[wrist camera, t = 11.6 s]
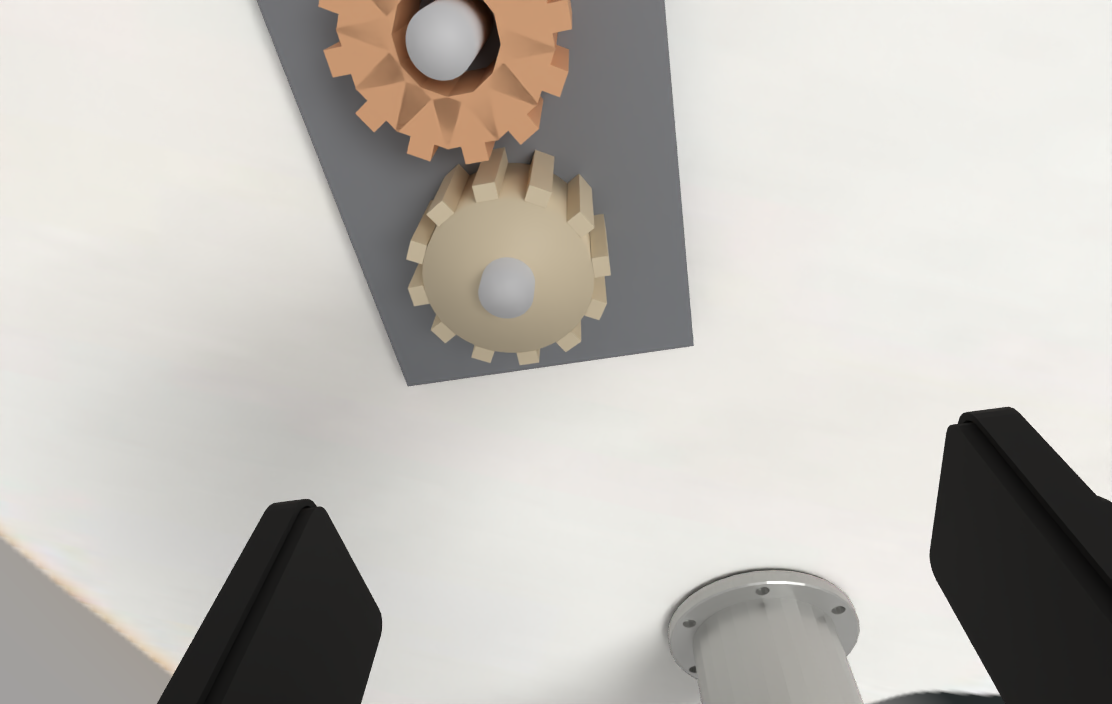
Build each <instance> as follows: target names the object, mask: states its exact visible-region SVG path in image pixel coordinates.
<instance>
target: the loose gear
mask: <svg viewBox="0 0 1112 704" xmlns="http://www.w3.org/2000/svg"><path fill="white" fill-rule="evenodd" d="M484 2H485V3H486V4H487V5H488V7H489V8H490V9H491V10H492V12H493V13H494V15H495V20H496V25H497V29H498V34H499V39H500V44H501V46H500V49H499V53H498V56H497V58H496V59H495V60H494V61H493V62H492V63H491V64H490V65H489V66H488V67H485V68H480V69H475V70H470V71H465V72H464V73H463V74H462V75H460V76H459V77H457V78H455V79H452V80H446V81H441V80H435V79H432V78H430V77H428V76H426V75H424V74H423V73H422V72H420V71H419V70H418V69H417V68H416V66H415V65H414V64H413V62H412V61H411V59H410V57H409V54H408V51H407V47H406V31H407V27H408V24H409V22H410V20H411V19H412V17H413V16H414V15H415V14H416V13H417V12H418V11H419V8H420V3H421V0H319V5H318V7H321V8H324V9H326V10H329V11H332V12H334V13H337V14H339V15H338V22H337V28H336V32H337V34H338V37H339V40H340V41H339V42H337V43H336V44H334V45H332V46H330V47H328V48H326V49H325V50H323V51H324V54H325V57H326V59H327V62H328V65H329V68H330V71H331V74H332V76H333V77H338V76H343V75H348V74H351V75H352V78H353V81H354V84H355V87H356V90H357V91H358V92H359V93H360V94H361V95H362V96H363V97H364V98H365V99H366V100H367V102H366V103H365V104H364V105H363V106H362V107H361V108H360V109H359V110H358V111H357V112H356V113H355V114H356V115H357V116H358V117H359V118H360V119H361V120H362V121H363V122H364V123H365V124H366V125H367V126H368V127H369V128H370V129H371V130H372V131H373V132H375V131H376V130H377V129H378V128H379V127H380V126H381V125H382V124H383V123H384V122H385V121H387V122H388V123H389V124H390V125H391V126H392V127H393V128H394V129H395V130H396V131H397V132H400V133H403V134H406V135H409V136H411V137H410V141H409V146H408V150H407V154H410V155H413V156H416V157H419V158H422V159H424V160H427V161H431V159H432V157H433V156H434V154H435V152H436V150H437V149H438V147H439V146H440V147H443V148H446V149H452V148H457V147H461V148H462V152H463V156H464V160H465V163H466V164H471V163H477V162H482V161H488V160H489V159H490V156H491V153H492V150H493V147H494V144H495V141H496V140H499V139H500V138H501V137H502V136H503V135H504V134H505V133H506V132H507V131H509V132H510V133H511V134H512V136H513V137H514V138H515V139H516V140H517V141H518V142H519V144H520V145H521V144H522V143H523V142H525V141H526V140H527V139H528V138H529V137H530V136H531V135H533V134H534V133H535V132H536V131H537V130H538V129H539V125H540V119H541V112H542V106H543V99H542V97H541V96H540V95H541V92H542V91H544V92H547V93H550V94H552V95H555V96H558V97H560V95H561V92H562V89H563V86H564V83H565V81H566V78H567V75H568V71H569V49H567V48H564V47H561V46H559V45H556V42H557V34H558V32H561V31H566V30H571V29H572V8H571V2H570V0H484Z"/></svg>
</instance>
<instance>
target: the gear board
mask: <svg viewBox="0 0 1112 704" xmlns="http://www.w3.org/2000/svg"><path fill="white" fill-rule="evenodd" d="M257 2H258V5H259V8H260V10H261V13H262V15H263V18H264V20H265V23H266V25H267V28H268V30H269V33H270V36H271V38H272V41H273V43H274V46H275V48H276V51H277V53H278V56H279V59H280V61H281V64H282V66H283V69H284V71H285V74H286V76H287V79H288V81H289V84H290V87H291V89H292V92H293V94H294V97H295V99H296V102H297V104H298V107H299V110H300V112H301V115H302V117H303V120H304V122H305V125H306V127H307V130H308V133H309V135H310V138H311V140H312V143H313V145H314V148H315V150H316V153H317V155H318V158H319V161H320V163H321V166H322V168H323V171H324V173H325V176H326V178H327V181H328V184H329V186H330V189H331V191H332V194H333V196H334V199H335V201H336V204H337V206H338V209H339V212H340V214H341V217H342V219H343V222H344V224H345V227H346V229H347V232H348V235H349V237H350V240H351V242H352V245H353V247H354V250H355V252H356V255H357V258H358V260H359V263H360V265H361V268H362V270H363V273H364V275H365V278H366V280H367V283H368V286H369V288H370V291H371V293H372V296H373V298H374V301H375V303H376V306H377V309H378V311H379V314H380V316H381V319H382V321H383V324H384V326H385V329H386V331H387V334H388V337H389V339H390V342H391V344H392V347H393V349H394V352H395V354H396V357H397V360H398V362H399V365H400V367H401V370H402V372H403V375H404V377H405V380H406V382H407V385H408V386H414V385H421V384H428V383H435V382H442V381H449V380H456V379H463V378H470V377H477V376H484V375H491V374H499V373H506V372H513V371H520V370H527V369H534V368H541V367H548V366H555V365H562V364H569V363H576V362H583V361H590V360H597V359H604V358H611V357H618V356H625V355H632V354H639V353H647V352H654V351H661V350H668V349H675V348H682V347H689V346H694V345H693V333H692V321H691V309H690V297H689V286H688V274H687V262H686V250H685V238H684V227H683V215H682V203H681V191H680V179H679V168H678V156H677V144H676V132H675V121H674V109H673V97H672V85H671V73H670V62H669V50H668V38H667V26H666V14H665V3H664V0H570V2H571V8H572V29H571V30H566V31H561V32H558V34H557V42H556V45H559V46H561V47H564V48H567V49H569V71H568V75H567V78H566V81H565V83H564V86H563V89H562V92H561V95H560V97H558V96H555V95H552V94H550V93H547V92H544V91H542V92H541V95H540V96H541V97H542V99H543V106H542V112H541V119H540V125H539V129H538V130H537V131H536V132H535V133H534V134H533V135H531V136H530V137H529V138H528V139H527V140H526V141H525V142H523V143H522V144H521V145H520V144H519V142H518V141H517V140H516V139H515V138H514V137H513V136H512V134H511V133H510V132H509V131H507V132H506V133H505V134H504V135H503V136H502V137H501V138H500V139H499V140H496V141H495V144H494V147H493V150H492V153H491V156H490V159H489V160H488V161H482V162H477V163H471V164H466V163H465V160H464V156H463V152H462V148H461V147H457V148H452V149H446V148H443V147H440V146H439V147H438V149H437V150H436V152H435V154H434V156H433V157H432V159H431V161H427V160H424V159H422V158H419V157H416V156H413V155H410V154H407V150H408V146H409V141H410V137H411V136H409V135H406V134H403V133H400V132H397V131H396V130H395V129H394V128H393V127H392V126H391V125H390V124H389V123H388V122H387V121H385V122H384V123H383V124H382V125H381V126H380V127H379V128H378V129H377V130H376V131H375V132H373V131H372V130H371V129H370V128H369V127H368V126H367V125H366V124H365V123H364V122H363V121H362V120H361V119H360V118H359V117H358V116H357V115H356V114H355V113H356V112H357V111H358V110H359V109H360V108H361V107H362V106H363V105H364V104H365V103H366V102H367V100H366V99H365V98H364V97H363V96H362V95H361V94H360V93H359V92H358V91H357V90H356V87H355V84H354V81H353V78H352V75H351V74H348V75H343V76H338V77H333V76H332V74H331V71H330V68H329V65H328V62H327V59H326V57H325V54H324V51H323V50H325V49H326V48H328V47H330V46H332V45H334V44H336V43H337V42H339V41H340V40H339V37H338V34H337V32H336V28H337V22H338V15H339V14H337V13H334V12H332V11H329V10H326V9H324V8H321V7H318V5H319V0H257ZM500 46H501V44H500V39H499V34H498V29H497V25H496V20H495V15H494V13H493V12H492V10H491V9H490V8H489V7H488V5H487V4H486V3H485V2H484V0H421V3H420V8H419V11H418V12H417V13H416V14H415V15H414V16H413V17H412V19H411V20H410V22H409V24H408V27H407V31H406V47H407V51H408V54H409V57H410V59H411V61H412V62H413V64H414V65H415V66H416V68H417V69H418V70H419V71H420V72H422V73H423V74H424V75H426V76H428V77H430V78H432V79H435V80H441V81H446V80H452V79H455V78H457V77H459V76H460V75H462V74H463V73H464V72H465V71H470V70H475V69H480V68H485V67H488V66H489V65H490V64H491V63H492V62H493V61H494V60H495V59H496V58H497V56H498V53H499V49H500Z"/></svg>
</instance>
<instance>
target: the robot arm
mask: <svg viewBox="0 0 1112 704" xmlns="http://www.w3.org/2000/svg"><path fill="white" fill-rule="evenodd" d="M930 563H931V568H932V571H933V574H934V576H935V578H936V580H937V582H938V584H939V586H940V588H941V589H942V591H943V593H944V595H945V597H946V598H947V600H948V602H949V604H950V606H951V607H952V609H953V611H954V613H955V615H956V616H957V618H958V620H959V622H960V623H961V625H962V627H963V629H964V631H965V632H966V634H967V636H968V638H969V640H970V641H971V643H972V645H973V647H974V649H975V650H976V652H977V654H978V656H979V658H980V659H981V661H982V663H983V665H984V667H985V668H986V670H987V672H988V674H989V675H990V677H991V679H992V681H993V683H994V684H995V686H996V688H997V690H998V692H999V693H1000V695H1001V697H1002V699H1003V700H1004V702H1005V704H1112V502H1110V501H1109V500H1107V499H1104V498H1102V497H1100V496H1097V495H1096V494H1095V493H1094V492H1093V491H1092V490H1091V489H1090V488H1089V487H1088V486H1087V485H1086V484H1085V483H1084V482H1083V480H1082V479H1081V478H1080V477H1079V476H1078V475H1077V474H1076V473H1075V472H1074V471H1073V470H1072V469H1071V468H1070V467H1069V465H1068V464H1067V463H1066V462H1065V461H1064V460H1063V459H1062V458H1061V457H1060V456H1059V455H1058V454H1057V453H1056V452H1055V451H1054V449H1053V448H1052V447H1051V446H1050V445H1049V444H1048V443H1047V442H1046V441H1045V440H1044V439H1043V438H1042V437H1041V436H1040V434H1039V433H1038V432H1037V431H1036V430H1035V429H1034V428H1033V427H1032V426H1031V425H1030V424H1029V423H1028V422H1027V421H1026V419H1025V418H1024V417H1023V416H1022V415H1021V414H1020V413H1019V412H1018V411H1016V410H1015V409H1014V408H1011V407H1002V408H995V409H987V410H980V411H972V412H966V413H963V414H962V415H961V416H960V418H959V421H958V424H954V425H950V426H949V427H948V429H947V432H946V439H945V446H944V453H943V460H942V468H941V475H940V482H939V489H938V496H937V503H936V510H935V518H934V525H933V532H932V539H931V546H930ZM381 632H382V617H381V613H380V610H379V608H378V606H377V604H376V602H375V601H374V599H373V597H372V595H371V593H370V591H369V589H368V588H367V586H366V584H365V582H364V580H363V578H362V576H361V575H360V573H359V571H358V569H357V567H356V565H355V563H354V562H353V560H352V558H351V556H350V554H349V552H348V550H347V549H346V547H345V545H344V543H343V541H342V539H341V537H340V536H339V534H338V532H337V530H336V528H335V526H334V524H333V523H332V521H331V519H330V517H329V515H328V513H327V512H326V510H325V509H324V508H323V507H317V506H316V505H315V503H314V502H313V501H311V500H310V499H301V500H294V501H286V502H278V503H273V504H271V505H270V506H269V507H268V508H267V509H266V511H265V512H264V514H263V516H262V517H261V519H260V521H259V523H258V525H257V526H256V528H255V530H254V532H253V533H252V535H251V537H250V539H249V541H248V542H247V544H246V546H245V548H244V550H243V551H242V553H241V555H240V557H239V558H238V560H237V562H236V564H235V566H234V567H233V569H232V571H231V573H230V575H229V576H228V578H227V580H226V582H225V583H224V585H223V587H222V589H221V591H220V592H219V594H218V596H217V598H216V599H215V601H214V603H213V605H212V607H211V608H210V610H209V612H208V614H207V616H206V617H205V619H204V621H203V623H202V624H201V626H200V628H199V630H198V632H197V633H196V635H195V637H194V639H193V640H192V642H191V644H190V646H189V648H188V649H187V651H186V653H185V655H184V657H183V658H182V660H181V662H180V664H179V665H178V667H177V669H176V671H175V673H174V674H173V676H172V678H171V680H170V681H169V683H168V685H167V687H166V689H165V690H164V692H163V694H162V696H161V698H160V700H159V701H158V703H157V704H361V702H362V698H363V695H364V691H365V688H366V685H367V681H368V678H369V674H370V671H371V667H372V664H373V661H374V657H375V654H376V650H377V647H378V643H379V640H380V637H381ZM859 632H860V627H859V619H858V617H857V614H856V611H855V609H854V606H853V604H852V602H851V601H850V599H849V598H848V596H847V595H846V594H845V593H844V592H843V591H842V590H841V589H839V588H838V587H837V586H835V585H833V584H832V583H830V582H828V581H826V580H824V579H821V578H818V577H816V576H813V575H810V574H805V573H800V572H794V571H783V570H765V571H753V572H747V573H742V574H737V575H733V576H730V577H727V578H724V579H720V580H718V581H715V582H713V583H711V584H709V585H707V586H705V587H703V588H701V589H700V590H698V591H697V592H695V593H694V594H692V595H691V596H689V597H688V598H687V599H686V600H685V601H684V602H683V603H682V604H681V605H680V606H679V607H678V608H677V610H676V611H675V613H674V614H673V616H672V618H671V621H670V624H669V627H668V638H669V644H670V650H671V654H672V656H673V658H674V660H675V662H676V663H677V664H678V665H679V666H680V667H681V668H682V669H683V670H684V671H685V672H687V673H688V674H689V675H691V676H692V677H694V678H696V679H698V683H699V689H700V696H701V702H702V704H864V703H863V700H862V698H861V695H860V692H859V689H858V687H857V684H856V681H855V679H854V676H853V673H852V670H851V668H850V665H849V662H848V660H847V655H848V654H849V653H850V652H851V651H852V649H853V647H854V646H855V644H856V642H857V639H858V636H859Z"/></svg>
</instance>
